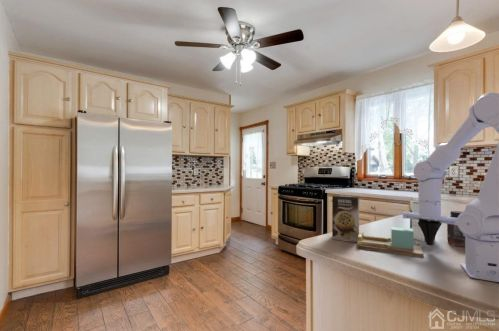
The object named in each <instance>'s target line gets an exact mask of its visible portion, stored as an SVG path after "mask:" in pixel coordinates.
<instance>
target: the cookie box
mask: <svg viewBox="0 0 499 331" xmlns="http://www.w3.org/2000/svg"><path fill="white" fill-rule="evenodd" d="M331 199H332V201H331V202H332V204H331V205H332V209H331V210H332V212H331V214H332V217H331V218H332V221H331V222H332V224H331V226H332V228H331V229H332V230H331V231H332V233H331V239H332V240H336V241H344V242H351V243H352V242H354V243H358V235H359V233H360V196H359V195H346V194H345V195H344V194H334V195H332V198H331Z"/></svg>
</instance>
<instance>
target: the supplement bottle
mask: <svg viewBox="0 0 499 331" xmlns="http://www.w3.org/2000/svg"><path fill="white" fill-rule="evenodd" d="M462 212H463V211H462V210H461V211H460V210H451V211H450V216H449V217H454V218H458V216H459V215H460V214H461V213H462ZM446 226H447V227H446V229H447V230H446V232H447V236H446V237H447V238H446V239H447V243H448V244H449V245H452V246H456V247H462V248H463V247H465V236H463V233H462V232H461V231H460V229H459V227H458V226H457V225H453V224H446Z"/></svg>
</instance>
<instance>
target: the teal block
mask: <svg viewBox="0 0 499 331" xmlns="http://www.w3.org/2000/svg"><path fill="white" fill-rule="evenodd" d="M390 233H391V234H390V235H391V236H390V238H391V247H398V248H406V249H414V243H415V242H414V239H413V229H410V227H409V228H408V227H397V226H391V227H390Z"/></svg>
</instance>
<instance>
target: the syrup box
mask: <svg viewBox="0 0 499 331" xmlns="http://www.w3.org/2000/svg"><path fill="white" fill-rule="evenodd" d="M409 212H413V213H419V200H418V199H410V201H409ZM422 219H423V218H422ZM430 220H432V219H430ZM418 222H419V220H416V219H409V228H410V229H413V240H417V241H422V242H425V243H426V241H425V237H424V234H423V232H422V230H421V228H420V227H419V225H418ZM435 240H436V238H435V239H434V241H435Z"/></svg>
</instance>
